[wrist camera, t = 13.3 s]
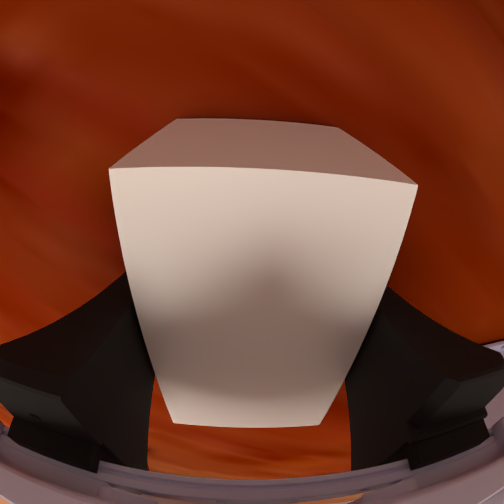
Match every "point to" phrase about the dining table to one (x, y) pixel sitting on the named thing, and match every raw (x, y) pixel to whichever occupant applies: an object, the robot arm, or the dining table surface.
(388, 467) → the robot arm
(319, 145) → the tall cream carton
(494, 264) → the dining table surface
